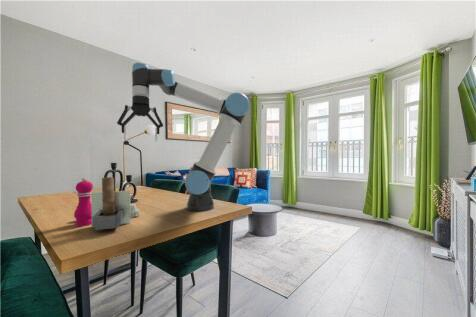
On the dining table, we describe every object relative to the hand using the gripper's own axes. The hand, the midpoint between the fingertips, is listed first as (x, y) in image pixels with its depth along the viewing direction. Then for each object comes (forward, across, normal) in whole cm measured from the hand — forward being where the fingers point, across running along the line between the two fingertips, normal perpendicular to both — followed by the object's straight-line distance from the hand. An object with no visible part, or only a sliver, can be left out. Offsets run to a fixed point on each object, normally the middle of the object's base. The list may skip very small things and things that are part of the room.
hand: (141, 140), depth 103 cm
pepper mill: (+37, +22, +5) cm, 43 cm away
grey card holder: (+37, +11, +16) cm, 41 cm away
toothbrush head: (+37, +14, -1) cm, 40 cm away
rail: (+34, +11, +17) cm, 40 cm away
